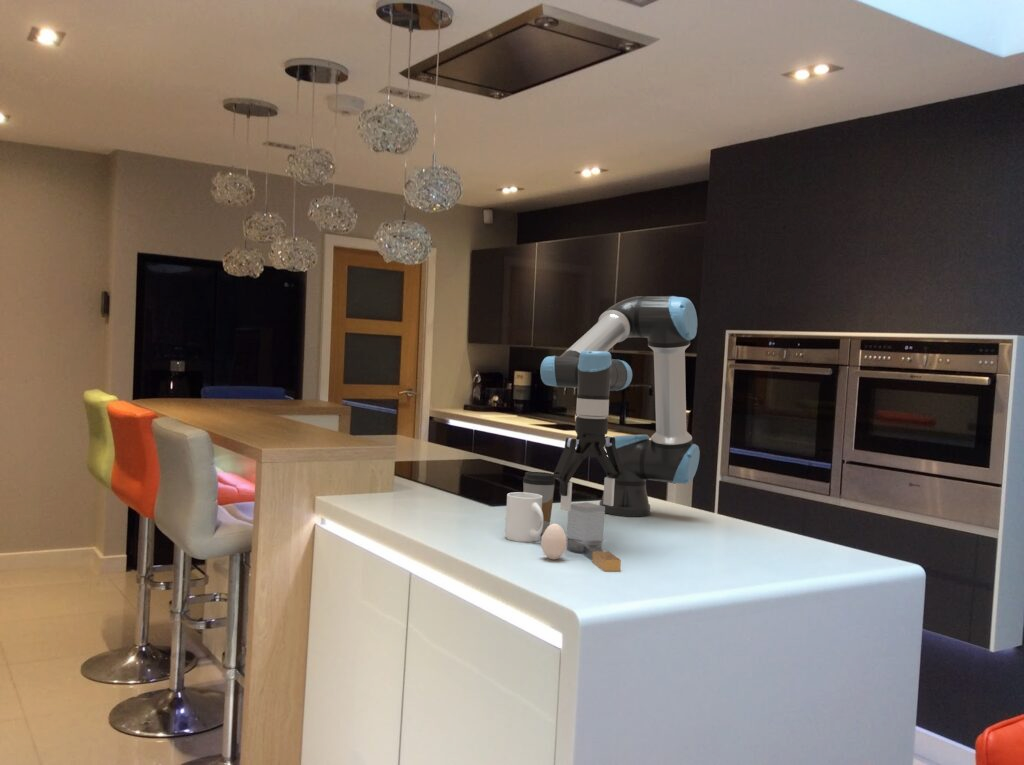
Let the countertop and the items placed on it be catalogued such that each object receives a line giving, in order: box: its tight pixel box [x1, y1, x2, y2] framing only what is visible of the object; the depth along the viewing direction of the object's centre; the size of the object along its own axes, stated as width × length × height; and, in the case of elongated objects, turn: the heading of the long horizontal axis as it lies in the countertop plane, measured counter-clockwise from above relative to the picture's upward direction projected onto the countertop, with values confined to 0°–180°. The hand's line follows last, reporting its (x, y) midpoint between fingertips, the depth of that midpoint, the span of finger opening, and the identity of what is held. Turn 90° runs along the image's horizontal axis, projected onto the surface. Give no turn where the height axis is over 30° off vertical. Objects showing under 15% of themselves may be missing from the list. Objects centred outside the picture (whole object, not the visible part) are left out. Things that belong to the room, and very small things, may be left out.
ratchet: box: [566, 537, 622, 572], centre depth 191 cm, size 8×24×6 cm, turn 13°
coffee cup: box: [522, 471, 556, 536], centre depth 216 cm, size 8×8×15 cm
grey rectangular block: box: [566, 501, 606, 543], centre depth 199 cm, size 6×6×8 cm
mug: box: [504, 491, 544, 543], centre depth 206 cm, size 9×12×11 cm
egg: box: [541, 523, 567, 560], centre depth 188 cm, size 6×6×8 cm
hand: (587, 507), depth 199 cm, fingers open, 13 cm apart
